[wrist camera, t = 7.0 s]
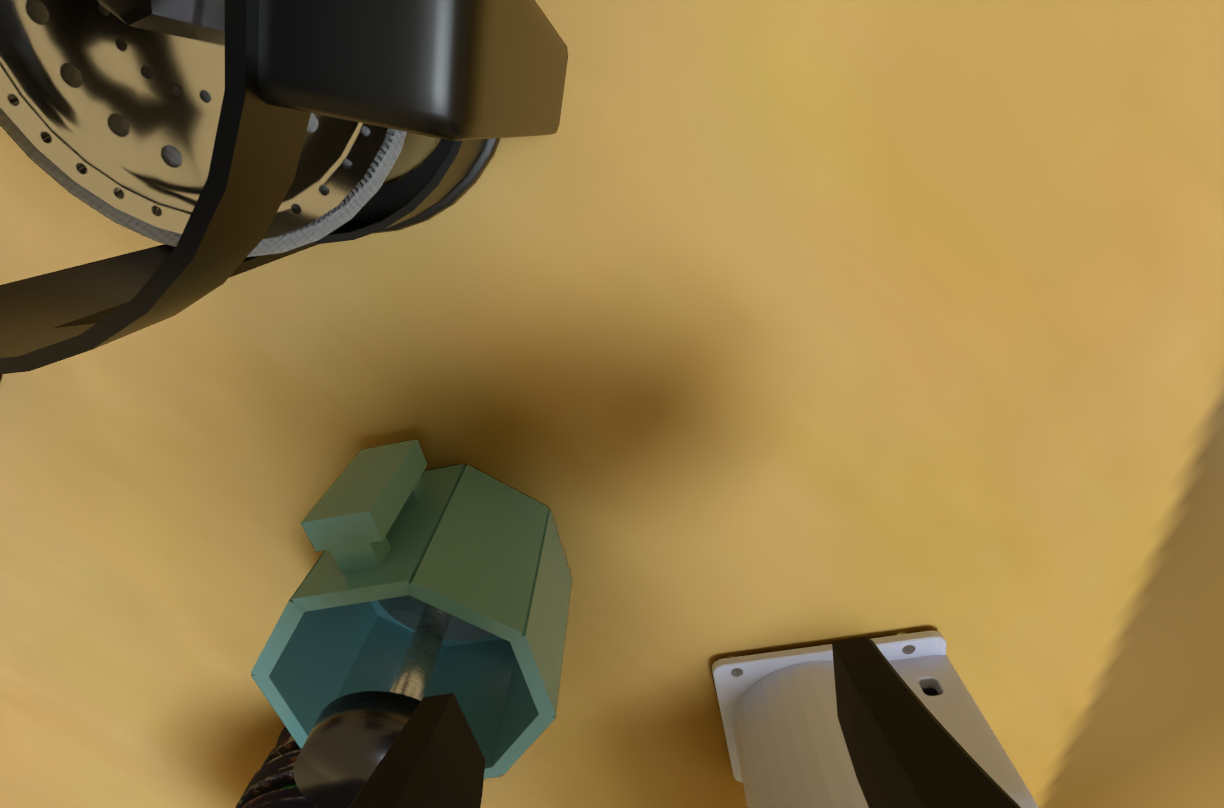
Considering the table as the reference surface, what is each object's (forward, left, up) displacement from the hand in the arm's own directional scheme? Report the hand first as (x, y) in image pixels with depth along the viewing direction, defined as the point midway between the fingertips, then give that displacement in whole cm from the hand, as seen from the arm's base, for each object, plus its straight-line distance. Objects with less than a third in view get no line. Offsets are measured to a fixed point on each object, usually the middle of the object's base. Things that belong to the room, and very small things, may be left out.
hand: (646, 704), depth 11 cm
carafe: (+8, +4, -10) cm, 14 cm away
